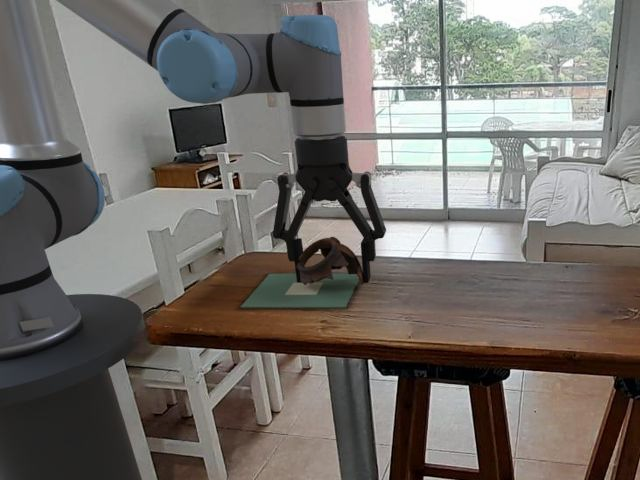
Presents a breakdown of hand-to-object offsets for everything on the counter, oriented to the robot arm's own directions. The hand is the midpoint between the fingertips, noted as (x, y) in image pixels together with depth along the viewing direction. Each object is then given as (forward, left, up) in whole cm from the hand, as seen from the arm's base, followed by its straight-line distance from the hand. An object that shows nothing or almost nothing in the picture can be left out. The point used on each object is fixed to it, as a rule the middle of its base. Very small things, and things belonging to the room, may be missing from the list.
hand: (334, 279), depth 92 cm
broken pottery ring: (0, 0, -1) cm, 1 cm away
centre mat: (-5, -1, -1) cm, 5 cm away
